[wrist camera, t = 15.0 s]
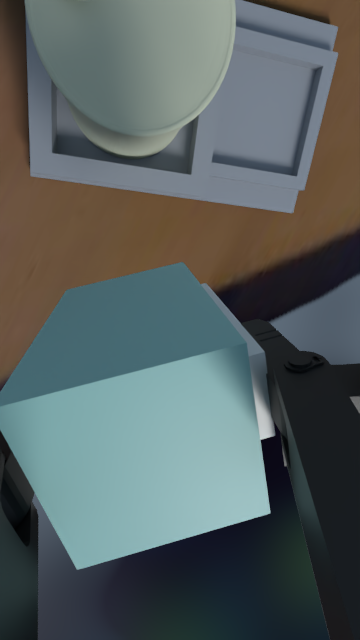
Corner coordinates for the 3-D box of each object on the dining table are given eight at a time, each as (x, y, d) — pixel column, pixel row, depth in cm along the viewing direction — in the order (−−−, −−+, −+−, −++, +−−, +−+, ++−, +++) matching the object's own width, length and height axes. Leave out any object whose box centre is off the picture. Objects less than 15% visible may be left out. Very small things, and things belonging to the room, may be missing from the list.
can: (82, -15, 22) (46, -225, 11) (204, 53, 24) (276, -61, 13) (52, 130, 24) (-2, 80, 13) (164, 177, 27) (197, 167, 16)
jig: (33, 176, 26) (23, 174, 24) (27, -51, 21) (13, -86, 19) (287, 212, 31) (304, 214, 28) (330, 32, 26) (355, 14, 23)
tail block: (102, 388, 15) (77, 569, 8) (66, 289, 13) (-12, 408, 6) (203, 361, 16) (270, 513, 8) (182, 261, 14) (246, 342, 6)
